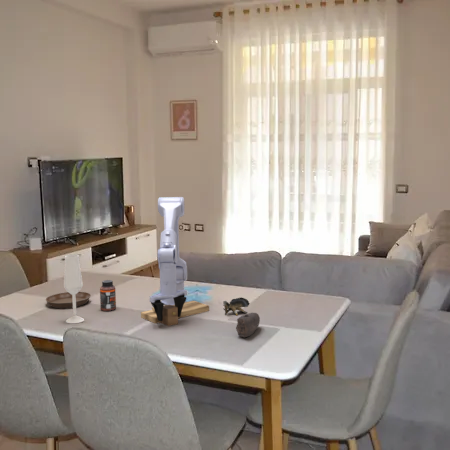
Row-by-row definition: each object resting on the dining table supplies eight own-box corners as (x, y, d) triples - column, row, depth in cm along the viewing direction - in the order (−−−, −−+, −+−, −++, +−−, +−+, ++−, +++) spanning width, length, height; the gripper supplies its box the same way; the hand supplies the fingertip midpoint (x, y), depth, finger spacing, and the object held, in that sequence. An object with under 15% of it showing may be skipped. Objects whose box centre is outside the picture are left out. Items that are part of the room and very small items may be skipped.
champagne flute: (65, 324, 201) (62, 258, 198) (65, 318, 207) (62, 254, 204) (85, 322, 203) (81, 256, 199) (84, 317, 209) (81, 253, 206)
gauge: (149, 318, 207) (148, 302, 206) (158, 316, 209) (158, 300, 208) (170, 326, 196) (169, 310, 195) (179, 324, 198) (179, 307, 198)
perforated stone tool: (251, 326, 195) (251, 306, 195) (265, 328, 193) (265, 308, 192) (232, 339, 182) (231, 318, 181) (246, 341, 180) (246, 320, 179)
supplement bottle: (112, 311, 215) (111, 283, 214) (98, 311, 216) (96, 282, 215) (118, 307, 221) (117, 279, 220) (104, 307, 222) (103, 279, 221)
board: (141, 317, 207) (140, 312, 207) (193, 305, 222) (193, 300, 222) (155, 323, 200) (155, 318, 199) (209, 310, 215) (209, 305, 214)
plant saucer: (36, 308, 223) (36, 301, 222) (62, 297, 239) (61, 290, 239) (75, 311, 217) (75, 303, 217) (99, 299, 234) (98, 292, 234)
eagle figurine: (230, 316, 203) (252, 308, 207) (223, 298, 206) (245, 291, 209) (225, 322, 210) (247, 314, 213) (218, 304, 213) (240, 297, 216)
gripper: (156, 286, 190) (157, 325, 192) (191, 279, 199) (192, 316, 201) (145, 282, 196) (147, 320, 197) (180, 276, 205) (181, 312, 207)
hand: (169, 318), depth 200 cm, fingers open, 7 cm apart
